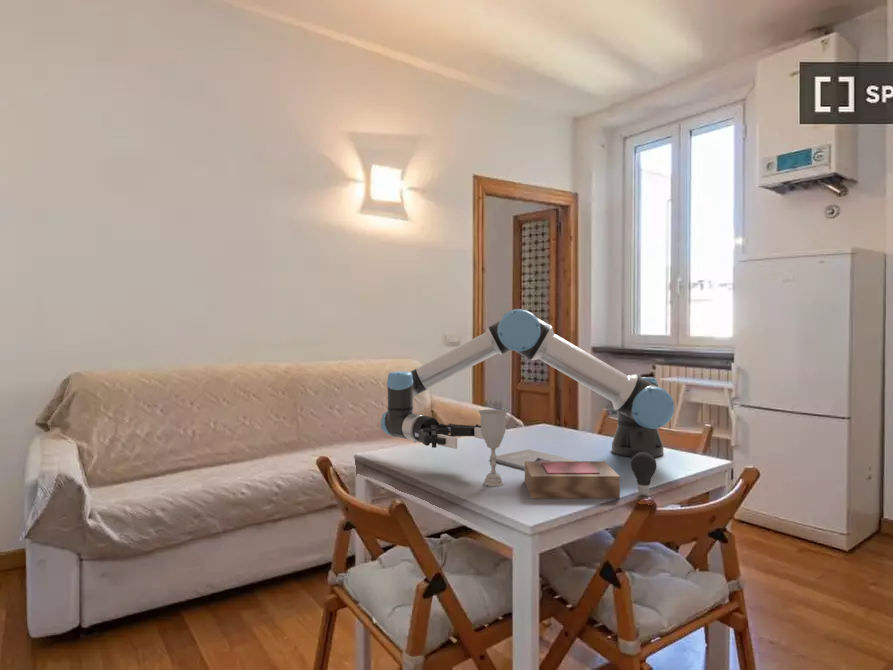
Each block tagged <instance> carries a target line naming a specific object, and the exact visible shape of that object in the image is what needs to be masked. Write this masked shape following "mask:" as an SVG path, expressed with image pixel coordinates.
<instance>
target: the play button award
mask: <svg viewBox="0 0 893 670" xmlns="http://www.w3.org/2000/svg"><path fill="white" fill-rule="evenodd" d="M496 456H497V457H496V459H495V462H497V463H496V464H501V465H503V466H504V465H505V466H508V467H511V468H516V469H519V470H522V471H523V470H524V471H525V461H577V460H575V459H572V458H571V459H570V458H568V457H562V456H557V455H554V454H551V453H545V452H542V451H537V450H534V449H523V450H519V451H515V452H510V453H509V452H508V453H504V454H499V455H496ZM489 461H490V462H491V457H490V456H489Z"/></svg>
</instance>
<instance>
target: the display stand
mask: <svg viewBox="0 0 893 670" xmlns="http://www.w3.org/2000/svg"><path fill="white" fill-rule="evenodd" d="M620 480H621V476H620V475H619V474H618V473H617V472H616V471H615V470H614V469H613V468H612V467H611V466H610V465H609V464H608V463H607V462H606V461H600V460H599V461H598V460H597V461H596V460H594V461H591V460H590V461H589V460H588V461H587V460H586V461H584V460H583V461H580V460H576V461H525V470H524V483H525V485H526V488H527V491H528V492H529V495H530V498H531V499H620V497H621V496H620V495H621V494H620V493H621V487H620V485H621V484H620V483H621V481H620Z"/></svg>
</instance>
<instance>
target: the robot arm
mask: <svg viewBox="0 0 893 670" xmlns="http://www.w3.org/2000/svg"><path fill="white" fill-rule="evenodd" d="M511 351H514V352H516V353H517V354H519V355H520V356H523V357H524V358H526V359H527V360H529V361H536V360H540V361H541V362H543V363H545V364H547V365H548V366H550V367H551V368H554V369H555V370H557V371H558V372H560V373H561V374H562V373H563V374H564V375H565V376H568V377H569V378H571V379H572V380H574V381H576V382H578V383H579V384H581V385H583V386H585V387H586V388H588V389H590V390H592V392H595V393H597V394H598V395H599V396H601V397H603V398H605V399H606V400H609V401H611V403H612V407H613V410H614V411H616V412H617V426H616V430H615V433H614V436H613V439H612V443H611V451H612V453H614V454H617V455H619V456H624V457H630V458H631V457H632V458H633V456H634V455H636V454H637V453H640V452H645V453H648V454H650V455H652V456H653V458H656V457H661V456H663V455H664V444H663V442H662V439H661V435H660V433H659V429H660V428H661V427H664V426H666V425H667V424H669V422H670V421H671V420H672V418H673V417H674V413H675V402H674V399H673V397H672V395H671V394H670V393H669V392H668V391H667V390H666V389H665V388H663V387H660V386H659V385H658V380H657V378H656V377H655V378H654V377H641V376H639V375H637V374H630V375H627V374H625V373H623V372H622V371H621V370H619V369H616V368H615V367H613V366H611V365H609V364H608V363H606V362H604V361H603V360H601V359H600V358H598V357H596V356H594V355H592V354H591V353H589V352H587V351H586V350H583V349H582V348H580V347H578V346H577V345H575V344H573V343H571V342H570V341H568V340H566V339H565V338H563V337H562V336H559V335H558V334H555V332H554V329H553V326H552V325H551V324H549V323H548V322H545V321H544V320H542V319H540V318H539V317H537V316H536V315H535V314H533V313H532V312H531V311H529V310H526V309H524V308H523V309H522V308H514V309H510V310H509V311H507V312H506V313H504V314H503V315H502V316H501V318H500V319H499V320H498V321H497V322H495V323H493V324H492V325H490V326H488V327H487V328H486V331H485V332H484V333H482V334H480V335H478V336H476V337H474V338H472V339H470V340H469V341H466V342H464V343H463V344H460V345H459V346H457V347H455V348H453V349H451V350H449V351H446V352H445V353H443V354H441V355H440V356H437V357H436V358H434V359H432V360H430V361H429V362H426V363H424V364H422V365H420V366H419V367H417V368H415V369H413V370H411V371H408V370H407V371H406V370H404V371H402V370H400V371H390V372H389V373H388V374H387V381H386V386H387V389H386V390H387V410H386V411H385V412H384V413H383V415H382V417H381V419H380V429H382V431H383V432H384V433H385V434H387V435H390V436H392V437H394V438H401V439H407V440H409V441H413V443H417V442H418V443H422V444H423V445H424V446H427V447H428V446H430V444H431V448H433V449H435V448H437V446H441V447H444V448H449V449H454V450H457V449H458V437H474V438H475V439H481V440H484V438H483V435H482V432H481V425H480V424H478V423H476V424H475V425H472V424H470V425H469V424H456V423H448V424H444V423H439V421H438V419H437V418H435V417H433V416H429V415H423V414H418V413H417V414H416V413H414V397H416V396H417V395H419V394H421V393H423V392H425V391H427V390H429V389H431V388H433V387H435V386H437V385H438V384H441V383H443V382H445V381H446V380H448V379H450V378H452V377H454V376H456V375H458V374H460V373H463V371H466V370H467V369H469V368H471V367H474V366H475V365H478V364H480V363H482V362H483V361H486V360H487V359H489V358H491V357H493V356H495V355H497V354H499V355H504V354H506V353H508V352H511Z"/></svg>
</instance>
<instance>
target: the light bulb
mask: <svg viewBox="0 0 893 670" xmlns="http://www.w3.org/2000/svg"><path fill="white" fill-rule="evenodd" d="M657 466H658V465H657V461H656V459H655V457H653V456H652V455H650V454H648V453H645V452H640V453H637V454H636V455H634V456H633V457H632V458H631V460H630V468H631V471H632V473H633V475H634V476H635V479H636V483H637V492H638V493H639V494H640V495H641V496H642V497H646V496H647V495H648V494H650V484H651V481H652V479H653V477H654V475H655V473H656V471H657Z"/></svg>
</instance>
